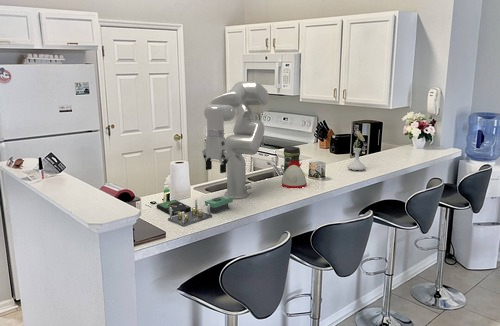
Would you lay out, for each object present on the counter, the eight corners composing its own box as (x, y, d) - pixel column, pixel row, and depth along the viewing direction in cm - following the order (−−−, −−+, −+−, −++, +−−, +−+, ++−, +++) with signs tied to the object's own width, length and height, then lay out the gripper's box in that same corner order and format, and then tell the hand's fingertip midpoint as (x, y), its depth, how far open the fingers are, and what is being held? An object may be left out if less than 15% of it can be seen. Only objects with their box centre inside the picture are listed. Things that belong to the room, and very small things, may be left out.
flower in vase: (366, 172, 276) (368, 132, 271) (347, 171, 278) (349, 132, 273) (364, 167, 289) (366, 129, 283) (346, 167, 290) (348, 129, 285)
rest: (223, 206, 208) (223, 200, 208) (228, 208, 206) (228, 202, 205) (209, 211, 202) (209, 205, 201) (214, 213, 200) (214, 206, 199)
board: (223, 199, 210) (223, 194, 209) (232, 202, 206) (232, 196, 205) (205, 205, 201) (204, 199, 200) (214, 208, 197) (213, 202, 196)
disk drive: (191, 212, 202) (175, 204, 213) (191, 206, 201) (175, 199, 213) (171, 217, 196) (156, 209, 207) (171, 211, 195) (155, 203, 206)
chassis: (195, 211, 201) (195, 199, 200) (212, 217, 194) (212, 204, 193) (167, 220, 190) (167, 207, 188) (184, 226, 183) (183, 212, 181)
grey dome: (303, 189, 237) (304, 162, 234) (278, 187, 242) (279, 161, 238) (308, 183, 250) (309, 157, 247) (284, 181, 254) (285, 156, 251)
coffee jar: (301, 176, 265) (302, 146, 261) (293, 179, 259) (293, 148, 255) (289, 174, 271) (290, 144, 267) (281, 176, 266) (281, 146, 262)
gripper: (235, 134, 193) (235, 172, 197) (209, 131, 205) (209, 167, 208) (222, 136, 188) (222, 175, 191) (196, 132, 200) (197, 169, 203)
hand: (215, 171), depth 200 cm, fingers open, 9 cm apart
